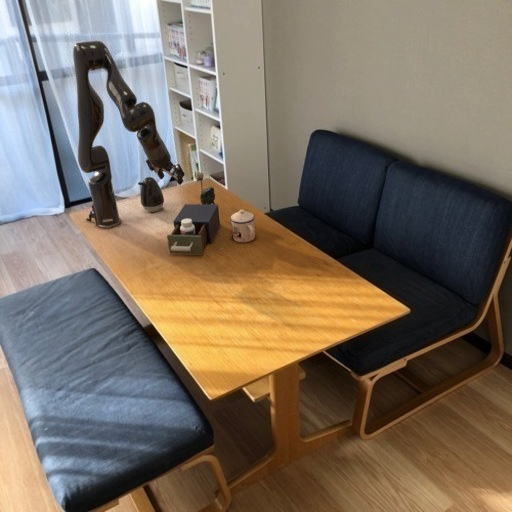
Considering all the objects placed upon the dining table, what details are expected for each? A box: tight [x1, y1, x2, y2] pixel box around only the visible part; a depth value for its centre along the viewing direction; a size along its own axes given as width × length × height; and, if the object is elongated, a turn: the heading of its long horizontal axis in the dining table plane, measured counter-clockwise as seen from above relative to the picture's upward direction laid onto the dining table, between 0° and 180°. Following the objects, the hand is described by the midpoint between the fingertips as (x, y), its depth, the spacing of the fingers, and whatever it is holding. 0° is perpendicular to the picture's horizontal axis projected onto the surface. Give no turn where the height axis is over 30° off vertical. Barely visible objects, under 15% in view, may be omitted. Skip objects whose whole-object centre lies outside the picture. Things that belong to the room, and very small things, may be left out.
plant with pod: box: [195, 171, 216, 205], centre depth 216 cm, size 8×11×20 cm
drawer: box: [166, 223, 208, 256], centre depth 191 cm, size 20×13×7 cm, turn 171°
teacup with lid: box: [230, 209, 256, 243], centre depth 195 cm, size 12×9×12 cm
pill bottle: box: [180, 219, 196, 235], centre depth 190 cm, size 5×5×10 cm
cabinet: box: [173, 203, 221, 245], centre depth 202 cm, size 16×14×9 cm
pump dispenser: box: [137, 176, 165, 213], centre depth 224 cm, size 10×10×15 cm
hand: (171, 180), depth 192 cm, fingers open, 8 cm apart
